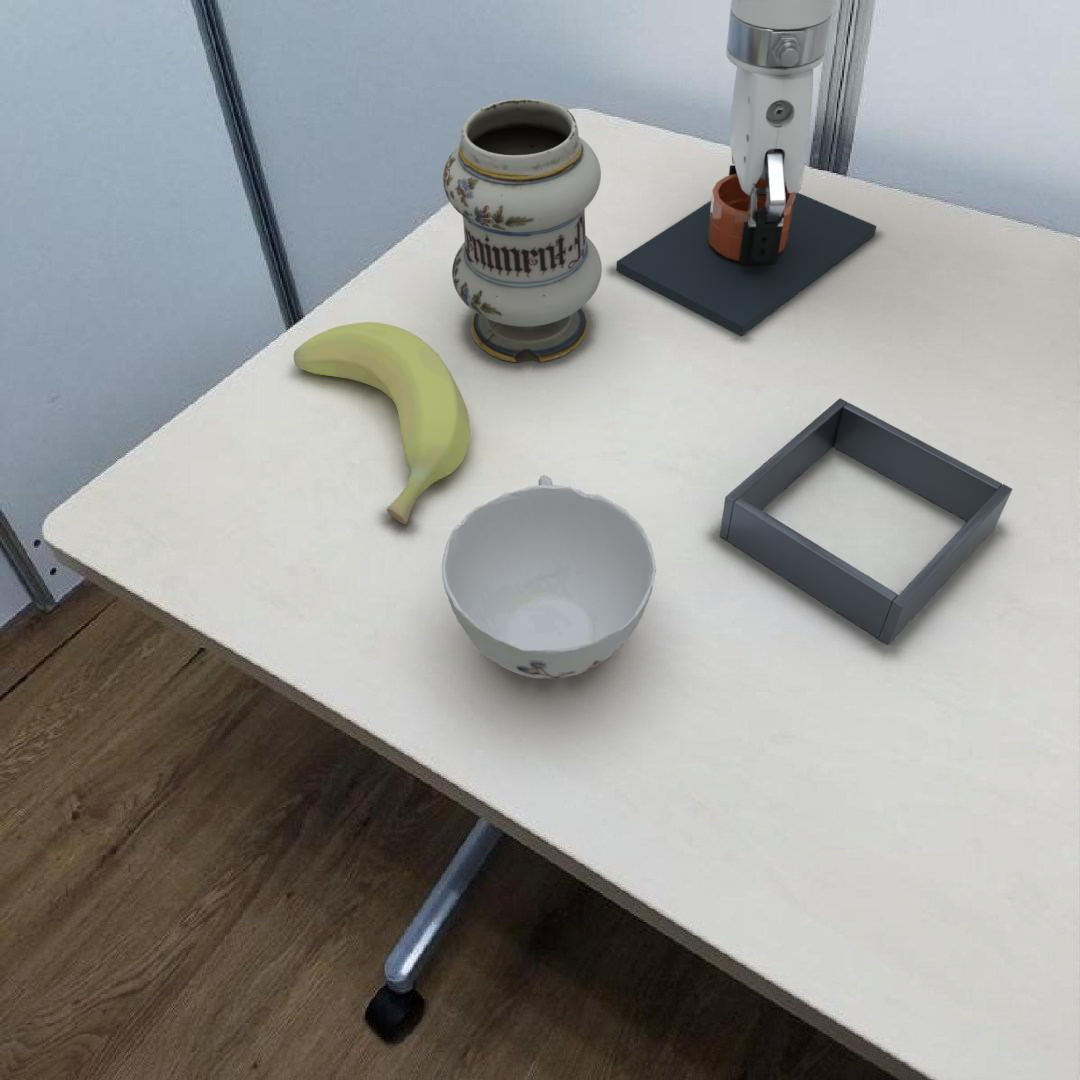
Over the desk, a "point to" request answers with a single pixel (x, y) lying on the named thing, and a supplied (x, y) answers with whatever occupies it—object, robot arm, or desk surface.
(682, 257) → the mat
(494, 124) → the apothecary jar
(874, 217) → the desk surface
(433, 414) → the banana
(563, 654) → the teacup
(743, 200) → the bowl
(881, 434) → the square frame
